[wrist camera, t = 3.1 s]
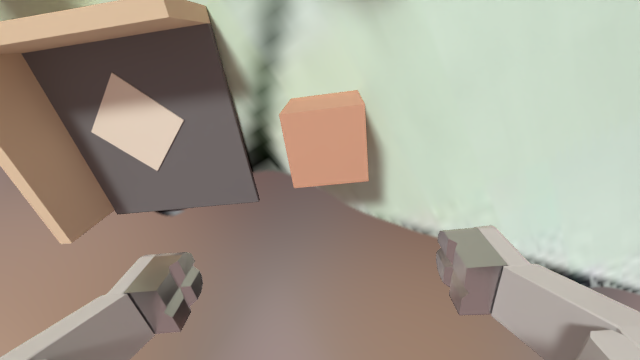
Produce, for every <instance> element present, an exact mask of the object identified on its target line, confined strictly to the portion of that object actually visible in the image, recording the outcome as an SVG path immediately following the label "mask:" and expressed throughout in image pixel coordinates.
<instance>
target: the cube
mask: <svg viewBox="0 0 640 360" xmlns="http://www.w3.org/2000/svg"><path fill="white" fill-rule="evenodd" d="M279 117H280V121H281V126H282V131H283V136H284V141H285V146H286V151H287V156H288V161H289V166H290V171H291V176H292V181H293V186H294V188H301V187H311V186H322V185H333V184H344V183H354V182H365V181H369V178H368V158H367V137H366V117H365V103H364V102H363V100H362V98H361V96H360V94H359V92H358V90H354V91H347V92H339V93H331V94H323V95H316V96H308V97H300V98H292V99H290V101H289V102H288V103H287V105H286V106H285V107H284V109H283V110H282V111H281V113H280V114H279Z"/></svg>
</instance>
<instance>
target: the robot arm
mask: <svg viewBox="0 0 640 360" xmlns="http://www.w3.org/2000/svg"><path fill="white" fill-rule="evenodd" d="M438 243H439V244H440V246H441V248H440V249H439V250H438V251H437V255H436V262H437V269H438V272H439V275H440V277H441V279H442V282H443V283H444V284H446V285H447V286H449V287H450V292H449V296H450V298H451V300H452V302H453V304H454V306H455V308H456V310H457V312H458V314H459V315H481V314H482V315H483V314H491V316H492V317H493V318H494V319H495V320H497V321H498V322H499V323H501V324H502V325H503V326H504V327H505V328H506V329H508V330H509V331H510V332H512V333H513V334H514V335H515V336H516V337H518V338H519V339H520V340H521V341H522V342H524V343H525V344H526V345H527V346H529V347H530V348H531V349H532V350H534V351H535V352H536V353H537V354H539V355H540V356H541V357H542V358H543V359H544V360H640V312H638V311H636V310H634V309H632V308H630V307H628V306H626V305H623V304H621V303H619V302H617V301H615V300H613V299H611V298H608V297H606V296H604V295H602V294H600V293H597V292H596V291H594V290H591V289H589V288H587V287H585V286H583V285H581V284H579V283H576V282H574V281H572V280H570V279H568V278H566V277H564V276H562V275H559V274H557V273H555V272H553V271H551V270H549V269H547V268H544V267H542V266H540V265H538V264H530V263H529V262H528V261H527V260H526V259H525V258H524V257H523V256H522V254H521V253H520V252H519V251H518V250H517V249H516V248H515V247H514V246H513V245H512V244H511V243H510V242H509V241H508V240H507V239H506V238H505V237H504V236H503V234H502V233H501V232H500V231H499V230H498V229H497V228H496V227H494V226H492V225H491V226H481V227H474V228H465V229H454V230H443V231H440V232H439V234H438ZM194 262H195V260H194V258H193V256H192V255H191V253H187V252H183V253H168V254H155V255H145V256H142V257H140V258H139V259H138V260H137V261H136V262H135V264H134V265H133V266H132V267H131V268H130V269H129V270H128V271H127V273H126V274H125V275H124V276H123V277H122V278H121V279H120V280H119V281H118V282H117V283H116V285H115V286H114V287H113V288H112V289H111V290H110V291H109V292H108V294H106V295H104V296H100V297H98V298H97V299H95V300H93V301H92V302H90V303H88V304H87V305H85V306H83V307H82V308H80V309H78V310H77V311H75V312H74V313H72V314H70V315H69V316H67V317H65V318H64V319H62V320H61V321H59V322H57V323H56V324H54V325H52V326H51V327H49V328H47V329H46V330H44V331H43V332H41V333H39V334H38V335H36V336H34V337H33V338H31V339H30V340H28V341H26V342H25V343H23V344H21V345H20V346H18V347H16V348H15V349H13V350H12V351H10V352H8V353H7V354H5V355H3V356H2V357H0V360H130V359H131V358H132V357H133V356H134V355H135V354H136V353H137V352H138V351H139V350H140V349H141V348H142V347H143V346H144V345H145V344H146V343H147V342H149V340H151V339H152V337H154V334H160V333H170V332H181V330H182V328H183V326H184V324H185V322H186V321H187V319H188V317H189V315H190V313H191V309H190V305H192V304H193V303H194V302H195V301H196V300H197V299H198V297H199V295H200V293H201V290H202V284H203V282H202V275H201V273H200V271H199V270H198V269H196V268H195V267H193V264H194Z"/></svg>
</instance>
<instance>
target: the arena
mask: <svg viewBox="0 0 640 360" xmlns="http://www.w3.org/2000/svg"><path fill="white" fill-rule="evenodd" d="M0 166H1V167H2V168H3V170H4V171H5V172H6V174H7V175H8V176H9V178H10V179H11V180H12V181H13V183H14V184H15V185H16V187H17V188H18V189H19V190H20V192H21V193H22V194H23V196H24V197H25V198H26V200H27V201H28V202H29V204H30V205H31V206H32V207H33V209H34V210H35V211H36V213H37V214H38V215H39V216H40V218H41V219H42V220H43V222H44V223H45V224H46V226H47V227H48V228H49V230H50V231H51V232H52V233H53V235H54V236H55V237H56V239H57V240H58V241H59V243H60V244H67V243H73V242H74V241H75V240H76V239H78V238H79V237H81V236H82V235H83V234H84V233H86V232H87V231H88V230H90V229H91V228H92V227H93V226H95V225H96V224H97V223H99V222H100V221H101V220H103V219H104V218H105V217H106V216H108V215H109V214H110V213H112V212H113V211H114V210H115V211H116V213H117V214H127V213H139V212H149V211H161V210H172V209H183V208H194V207H204V206H216V205H227V204H238V203H249V202H258V201H259V200H260V199H259V195H258V192H257V188H256V184H255V181H254V177H253V174H252V170H251V167H250V163H249V159H248V156H247V152H246V149H245V145H244V141H243V138H242V134H241V131H240V127H239V124H238V120H237V116H236V113H235V109H234V106H233V102H232V99H231V95H230V91H229V88H228V84H227V81H226V77H225V74H224V70H223V66H222V63H221V59H220V56H219V52H218V49H217V45H216V41H215V38H214V34H213V31H212V27H211V23H210V20H209V16H208V13H207V9H206V6H204V5H201V4H197V3H194V2H190V1H187V0H119V1H113V2H107V3H102V4H96V5H90V6H85V7H79V8H74V9H68V10H62V11H57V12H51V13H45V14H40V15H34V16H28V17H23V18H17V19H12V20H6V21H0Z"/></svg>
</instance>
